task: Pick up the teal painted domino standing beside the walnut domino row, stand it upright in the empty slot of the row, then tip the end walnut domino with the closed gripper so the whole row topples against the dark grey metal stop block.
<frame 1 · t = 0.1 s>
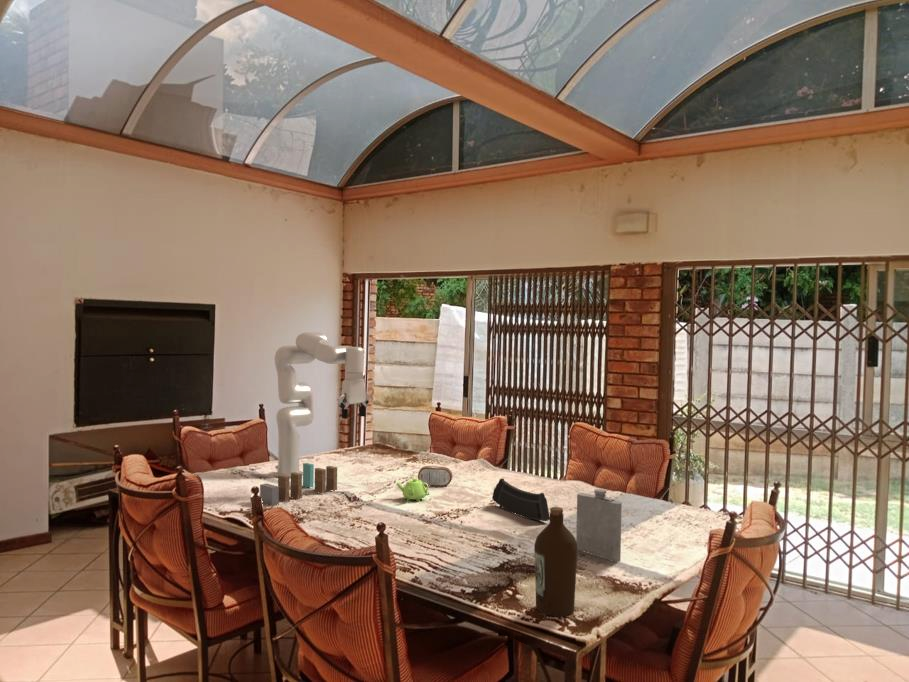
hand: (353, 417, 291), 31 cm above the table, tool pointing down, fingers open, 9 cm apart
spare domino: (308, 487, 299), on the table
domino 5: (283, 500, 275), on the table
domino 1: (331, 490, 294), on the table
olive oil: (554, 609, 173), on the table
hip flask: (598, 555, 215), on the table
domino 4: (296, 498, 280), on the table
tin: (434, 486, 305), on the table
domino 2: (320, 492, 289), on the table
teapot: (412, 499, 280), on the table
magazine: (519, 514, 261), on the table
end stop: (269, 503, 270), on the table
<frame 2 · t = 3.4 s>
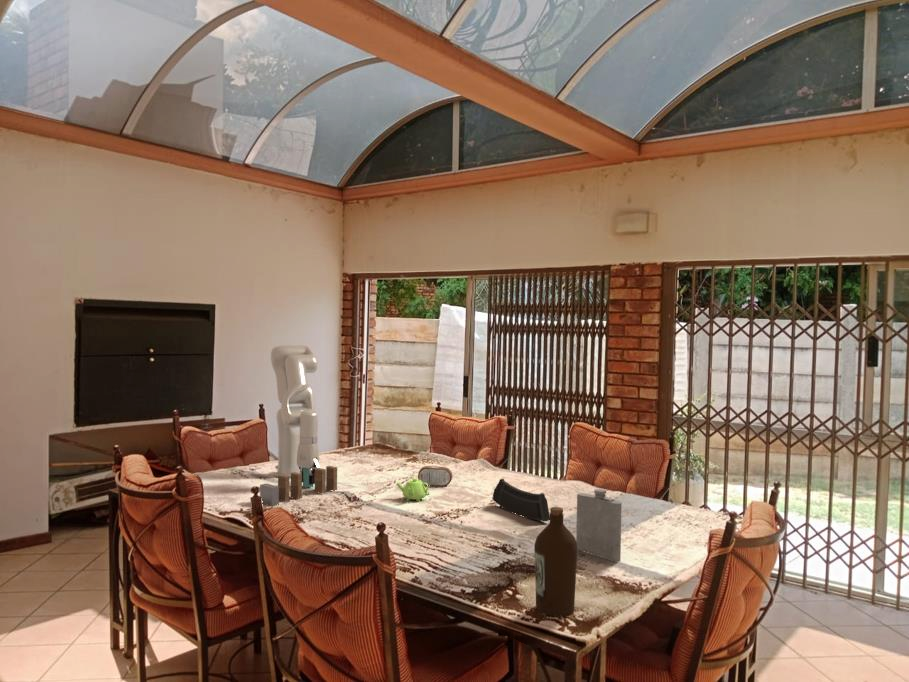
hand: (308, 482, 299), 2 cm above the table, tool pointing down, fingers closed on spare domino, 4 cm apart
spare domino: (308, 487, 299), on the table, touching gripper
everything else where it was.
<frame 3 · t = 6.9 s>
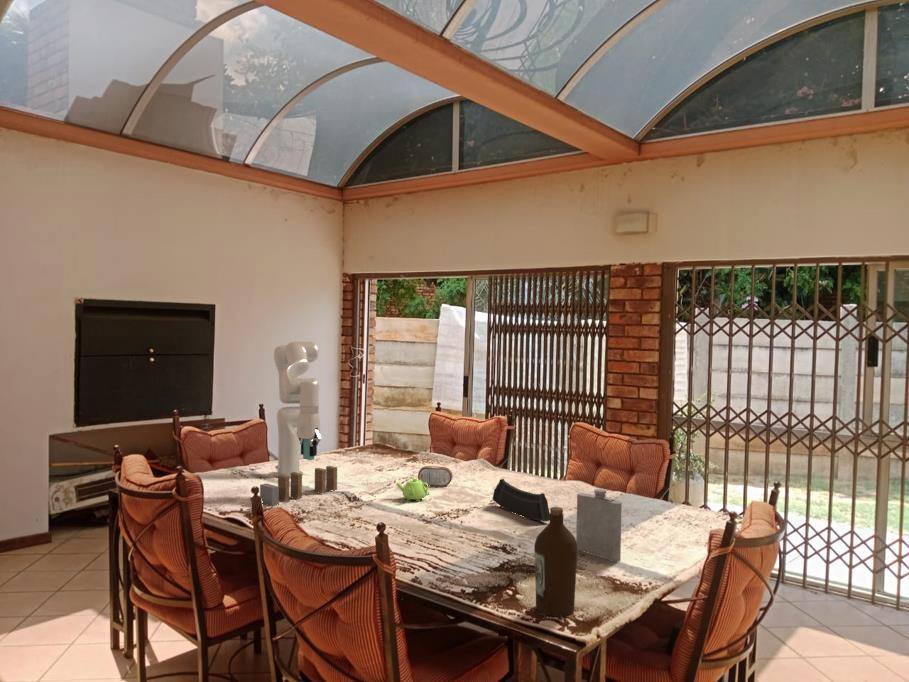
hand: (308, 454, 284), 17 cm above the table, tool pointing down, fingers closed on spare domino, 4 cm apart
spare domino: (308, 459, 284), point 15 cm above the table, touching gripper
everything else where it was.
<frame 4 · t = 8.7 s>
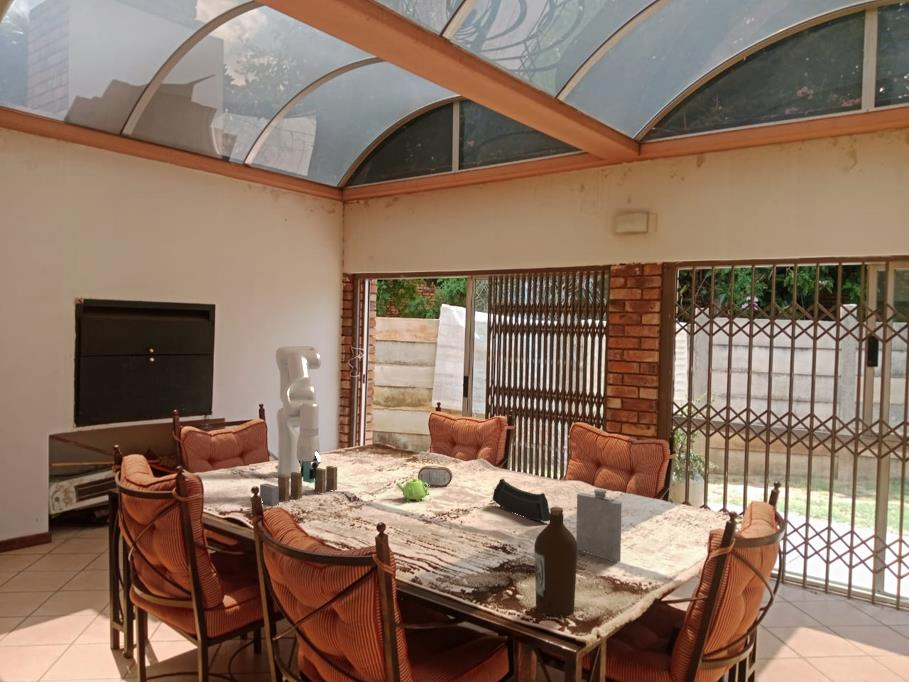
hand: (308, 477, 284), 8 cm above the table, tool pointing down, fingers closed on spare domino, 4 cm apart
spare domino: (308, 481, 284), point 6 cm above the table, touching gripper
everything else where it was.
when the fingers open (3 cm above the table, at t = 10.3 s): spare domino stays where it is, on the table.
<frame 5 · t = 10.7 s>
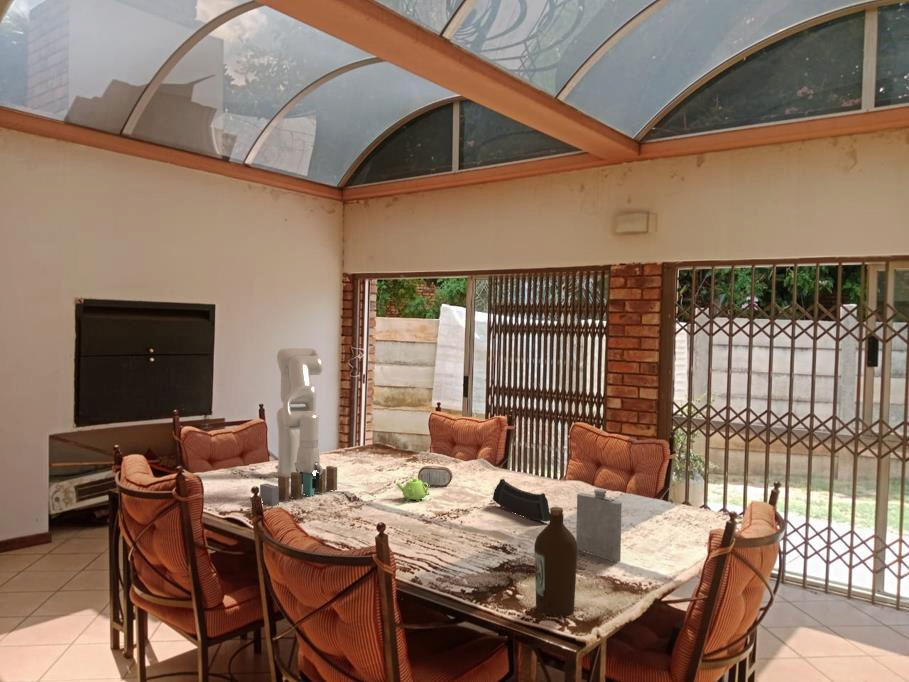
hand: (308, 486, 284), 4 cm above the table, tool pointing down, fingers open, 9 cm apart
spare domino: (308, 495, 285), on the table
everything else where it was.
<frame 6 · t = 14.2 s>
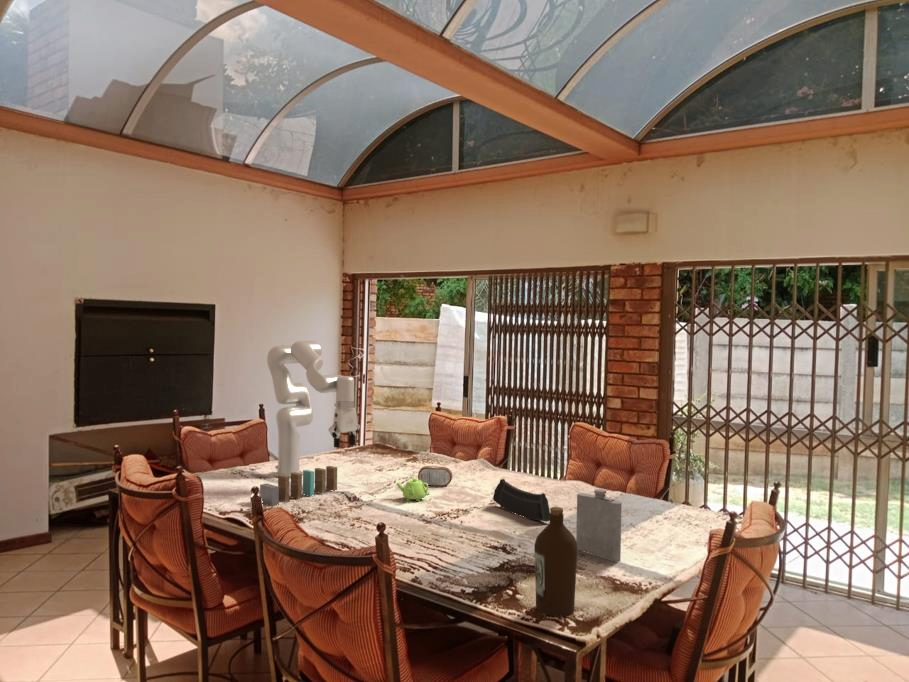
hand: (344, 445, 298), 18 cm above the table, tool pointing down, fingers open, 7 cm apart
nothing on the table moved.
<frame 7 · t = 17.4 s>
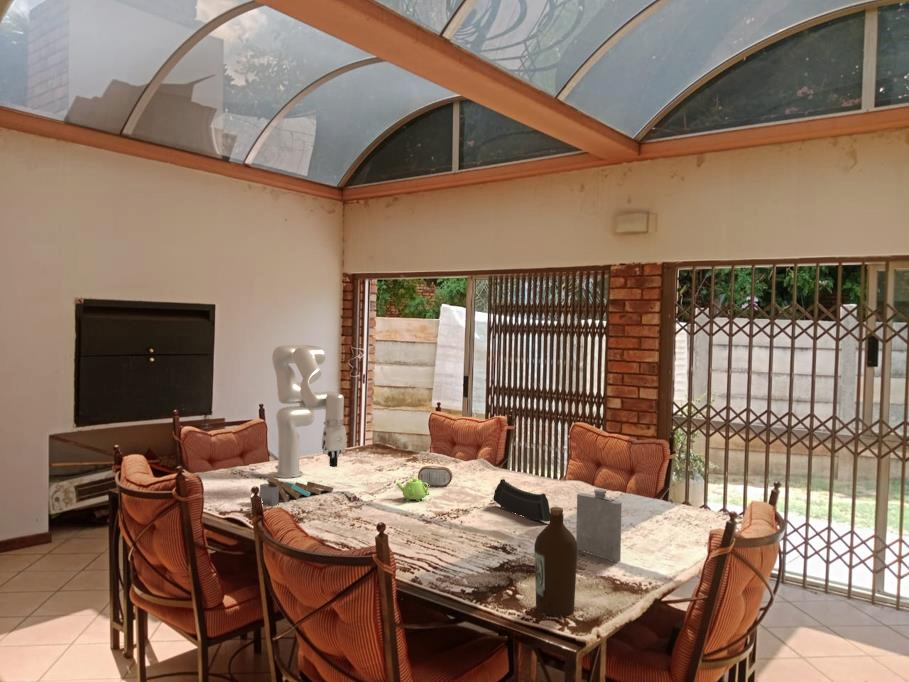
hand: (333, 466, 295), 10 cm above the table, tool pointing down, fingers closed
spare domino: (306, 493, 284), point 1 cm above the table, tilted 60°, touching domino 2, domino 4
domino 5: (283, 499, 275), on the table, tilted 31°, touching domino 4, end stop
domino 1: (329, 488, 293), point 1 cm above the table, tilted 70°, touching domino 2
domino 4: (295, 496, 280), point 1 cm above the table, tilted 49°, touching domino 5, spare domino
domino 2: (317, 491, 288), point 1 cm above the table, tilted 66°, touching domino 1, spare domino
everything else where it was.
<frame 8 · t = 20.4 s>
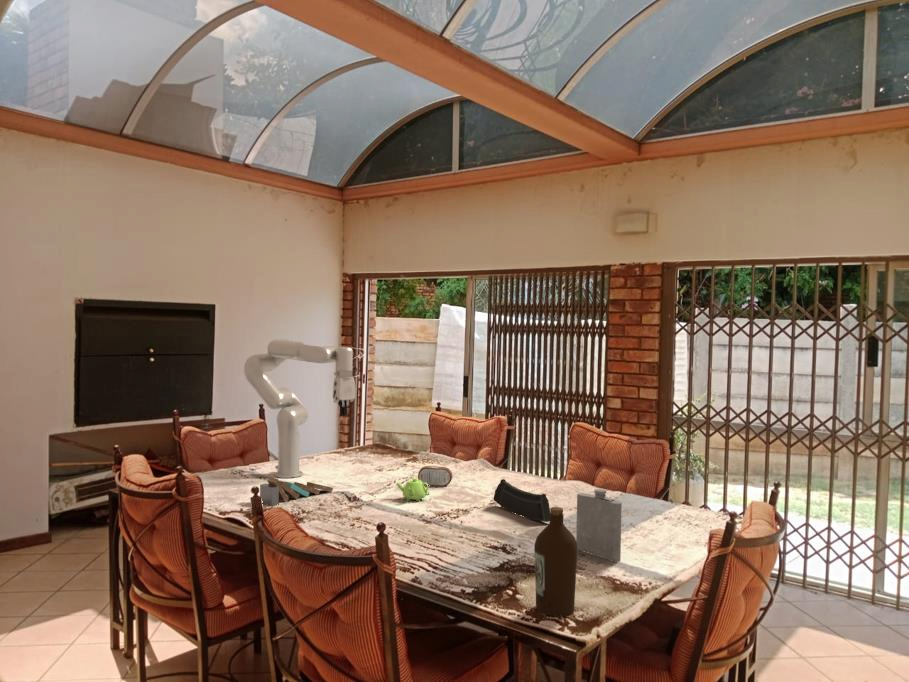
hand: (343, 415, 314), 29 cm above the table, tool pointing down, fingers closed
at the end: domino 5 tilted 30°; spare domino tilted 58°; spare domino inside the target area (0.2 cm from its centre), point 0.7 cm above the table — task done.
